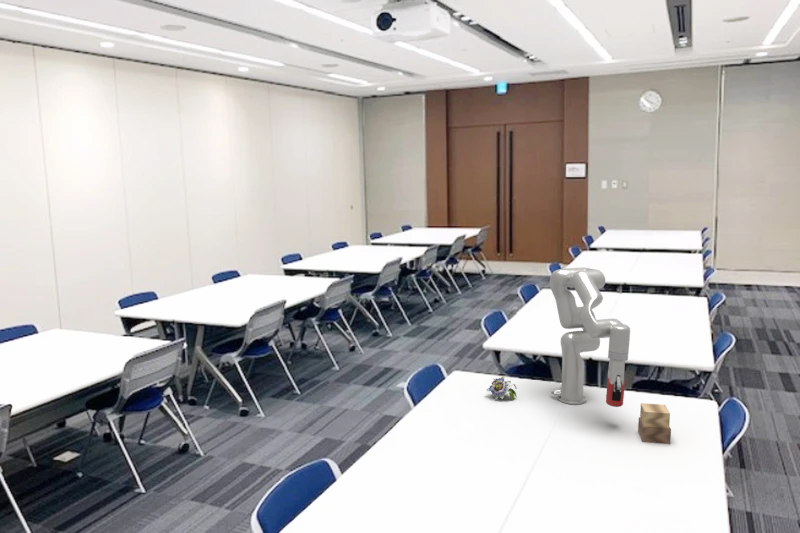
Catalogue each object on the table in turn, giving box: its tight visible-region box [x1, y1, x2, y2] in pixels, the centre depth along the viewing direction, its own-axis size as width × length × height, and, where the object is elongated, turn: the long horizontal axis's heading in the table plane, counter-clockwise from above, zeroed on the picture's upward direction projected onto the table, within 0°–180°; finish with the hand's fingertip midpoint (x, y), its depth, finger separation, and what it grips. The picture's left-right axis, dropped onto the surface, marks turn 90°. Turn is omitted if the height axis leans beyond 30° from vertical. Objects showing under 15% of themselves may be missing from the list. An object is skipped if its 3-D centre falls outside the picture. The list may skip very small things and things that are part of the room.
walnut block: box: [637, 416, 672, 445], centre depth 241 cm, size 10×10×6 cm
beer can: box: [605, 377, 626, 408], centre depth 251 cm, size 7×7×12 cm
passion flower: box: [486, 375, 517, 401], centre depth 285 cm, size 11×11×12 cm
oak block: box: [639, 402, 671, 429], centre depth 241 cm, size 9×9×6 cm
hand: (614, 396), depth 251 cm, fingers closed on beer can, 6 cm apart
